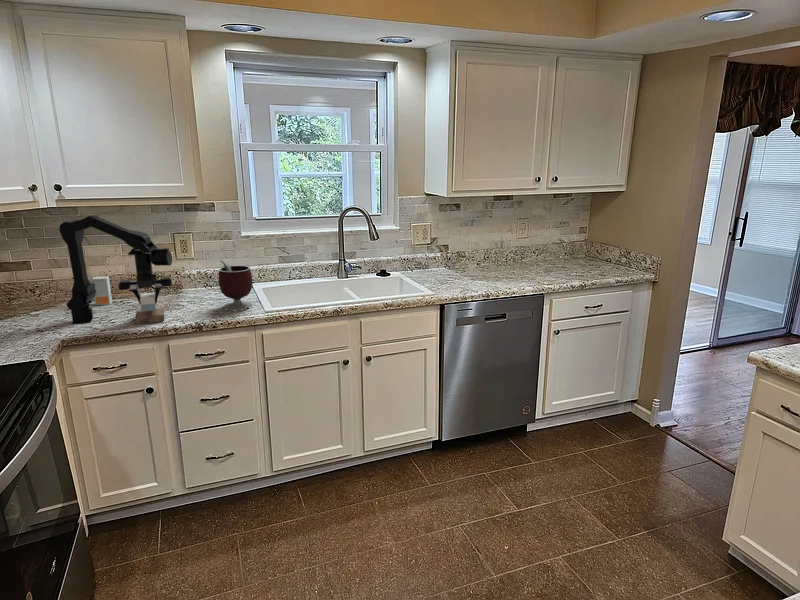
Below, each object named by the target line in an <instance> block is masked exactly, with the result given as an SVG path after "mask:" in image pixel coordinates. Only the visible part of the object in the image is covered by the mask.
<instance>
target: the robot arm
mask: <svg viewBox="0 0 800 600" xmlns="http://www.w3.org/2000/svg"><path fill="white" fill-rule="evenodd" d="M90 228H94V229H96V230H98V231H101V232H104V233H105V234H108V235H109V236H113V237H115V238H117V239H120V240H122V241H123V242H124V243H125V244H126V245H128V246H129V247H130V248H131V250H130V251H129V252H128V253H127V255H128V256H134V264H135V271H136V278H135V279H136V280H135V281H132V279H120V280H119V282H118V290H119V291H124V290H125V291H126V290H128V291H129V292H132V293H133V295H134V296H135V297H136V300H137V301H138V303H139V305H140V306H141V302H140V297H141V293H140V290H139V289H150V288H152V287H153V286H154V285H155V287H154V293H155V304H156V305H157V303H158V297H159V294H160V292H161V289H164V287H172V286H173V280H172V277H171V276H161V277H160V279H157V278H158V277H157V274H153V273H154V272H153V265H154V266H155V267H156V266H160V267H161V266H162V267H163V266H165V267H166V266H169V267H170V266H171V265H173V264H172V263H173V256H172V253H171V251H170V248H169V247H164V248H159V247H158V246H156V244H155V242H153V241H152V240H151V237H150V235H149V234H148V233H147V232H142V231H138V230H131V229H127V228H126V227H122V226H120V225H118V224H115V223H114V222H112V221H111V222H110V221H109V220H106V219H103V218H101V217H99V216H98V215H96V214H91V215H89V216H86V217H83V218H81V219H78V220H77V219H73V220H68V221H64V222H61V224H60V225H59V230H58V231H59V233H60V235H61V238H62V240H63V242H65V244H66V245H67V251H68V256H69V262H70V266H71V272H72V278H73V285H72V288H71V298H70V299H69V301H68V302H67V303H65V305H66V307H67V309H68V310H70V313H71V318H72V322H71V324H72V325H75V324H83V323H84V324H85V323H91V322H92V321H93V319H94V311H93V308H92V307H91V304H92V301H93V300H94V299H95V298H94V297H95V293H97V292H96V290H95V283H92V282H91V281H90V280H89V277H88V273H87V267H86V261H85V255H84V250H83V245H82V244H83V243H82V242H83V241H84V235H85V230H87V229H90Z"/></svg>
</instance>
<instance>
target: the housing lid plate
mask: <svg viewBox="0 0 800 600" xmlns="http://www.w3.org/2000/svg"><path fill="white" fill-rule="evenodd" d="M140 302H141V305H145V304H155V292H146V293H145V292H144V293H140ZM141 305H140V306H141Z"/></svg>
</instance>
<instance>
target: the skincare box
mask: <svg viewBox="0 0 800 600" xmlns="http://www.w3.org/2000/svg"><path fill="white" fill-rule="evenodd" d="M91 283H95V290H96V292H97V293H95V297H94V298H93V299H94V304H95V306H101V305H103V306H105V305H106V306H107V304H108V305H112V303H113V298H112V290H111V283H110V277H109V275H107V276H106V275H105V276H93V277H92V278H91Z"/></svg>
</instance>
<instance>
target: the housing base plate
mask: <svg viewBox="0 0 800 600" xmlns="http://www.w3.org/2000/svg"><path fill="white" fill-rule="evenodd" d="M140 309H141V310H142V311H148V310H156V309H157V303H156V304H145V305H140Z"/></svg>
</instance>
